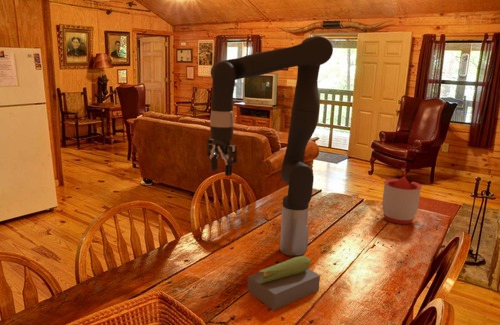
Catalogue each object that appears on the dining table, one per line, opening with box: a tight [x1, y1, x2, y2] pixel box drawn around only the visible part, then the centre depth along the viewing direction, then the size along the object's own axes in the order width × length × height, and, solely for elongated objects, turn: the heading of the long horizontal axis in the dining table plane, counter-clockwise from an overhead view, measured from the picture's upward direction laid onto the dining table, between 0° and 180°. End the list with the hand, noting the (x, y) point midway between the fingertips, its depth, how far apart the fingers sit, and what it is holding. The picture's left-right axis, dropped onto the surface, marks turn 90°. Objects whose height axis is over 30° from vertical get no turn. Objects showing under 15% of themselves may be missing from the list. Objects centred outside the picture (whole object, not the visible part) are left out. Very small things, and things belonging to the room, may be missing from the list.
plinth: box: [247, 268, 321, 311], centre depth 121 cm, size 18×12×5 cm, turn 128°
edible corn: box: [258, 255, 311, 284], centre depth 120 cm, size 5×20×5 cm
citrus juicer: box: [381, 176, 423, 225], centre depth 180 cm, size 16×17×20 cm
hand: (221, 172), depth 135 cm, fingers open, 8 cm apart
